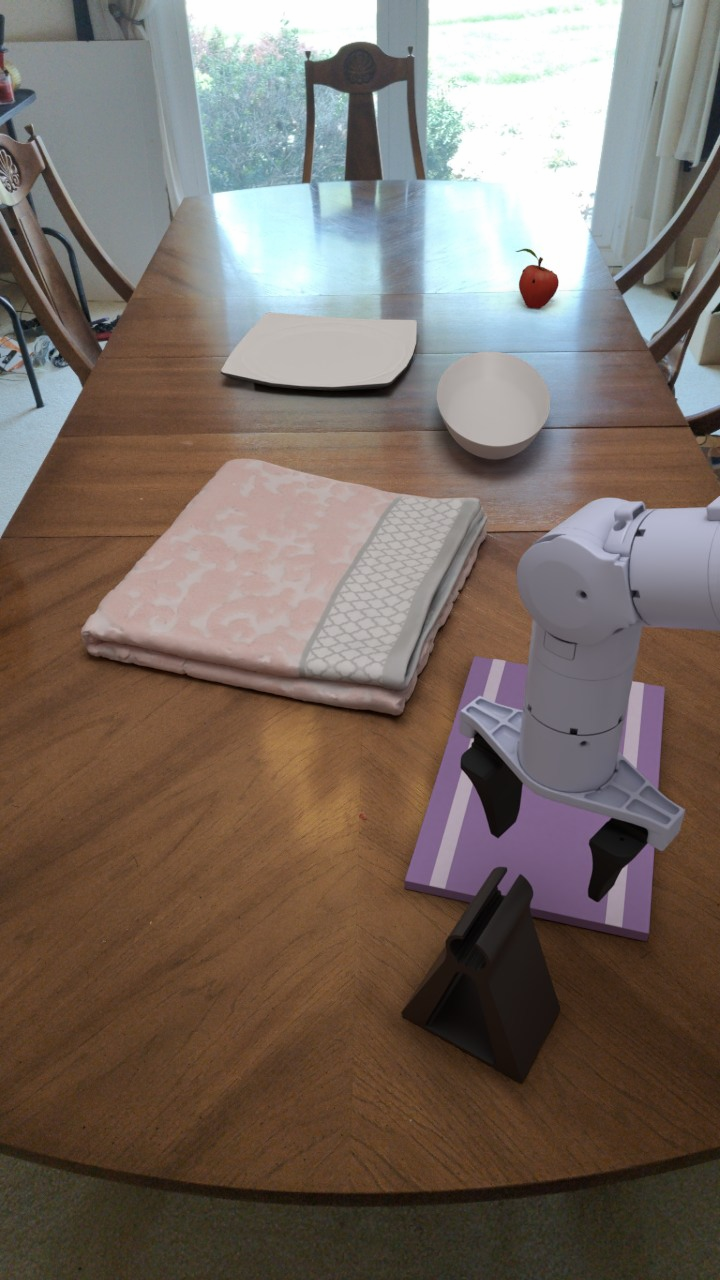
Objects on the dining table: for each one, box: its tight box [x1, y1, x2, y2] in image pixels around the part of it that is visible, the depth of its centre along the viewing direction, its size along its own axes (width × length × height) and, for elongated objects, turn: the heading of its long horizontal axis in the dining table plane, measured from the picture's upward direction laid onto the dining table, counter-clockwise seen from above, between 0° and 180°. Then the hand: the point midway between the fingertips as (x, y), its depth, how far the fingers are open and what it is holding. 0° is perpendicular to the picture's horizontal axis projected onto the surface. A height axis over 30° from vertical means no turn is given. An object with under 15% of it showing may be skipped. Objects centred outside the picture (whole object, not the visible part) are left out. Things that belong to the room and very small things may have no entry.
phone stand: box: [400, 867, 561, 1083], centre depth 63 cm, size 9×6×12 cm, turn 57°
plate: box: [220, 311, 418, 392], centre depth 156 cm, size 29×29×3 cm
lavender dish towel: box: [404, 655, 666, 942], centre depth 83 cm, size 28×18×1 cm, turn 164°
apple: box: [515, 248, 559, 310], centre depth 172 cm, size 8×7×10 cm
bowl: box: [436, 350, 551, 460], centre depth 133 cm, size 30×15×6 cm, turn 176°
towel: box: [80, 458, 489, 716], centre depth 105 cm, size 36×34×6 cm
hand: (550, 858), depth 64 cm, fingers open, 7 cm apart
